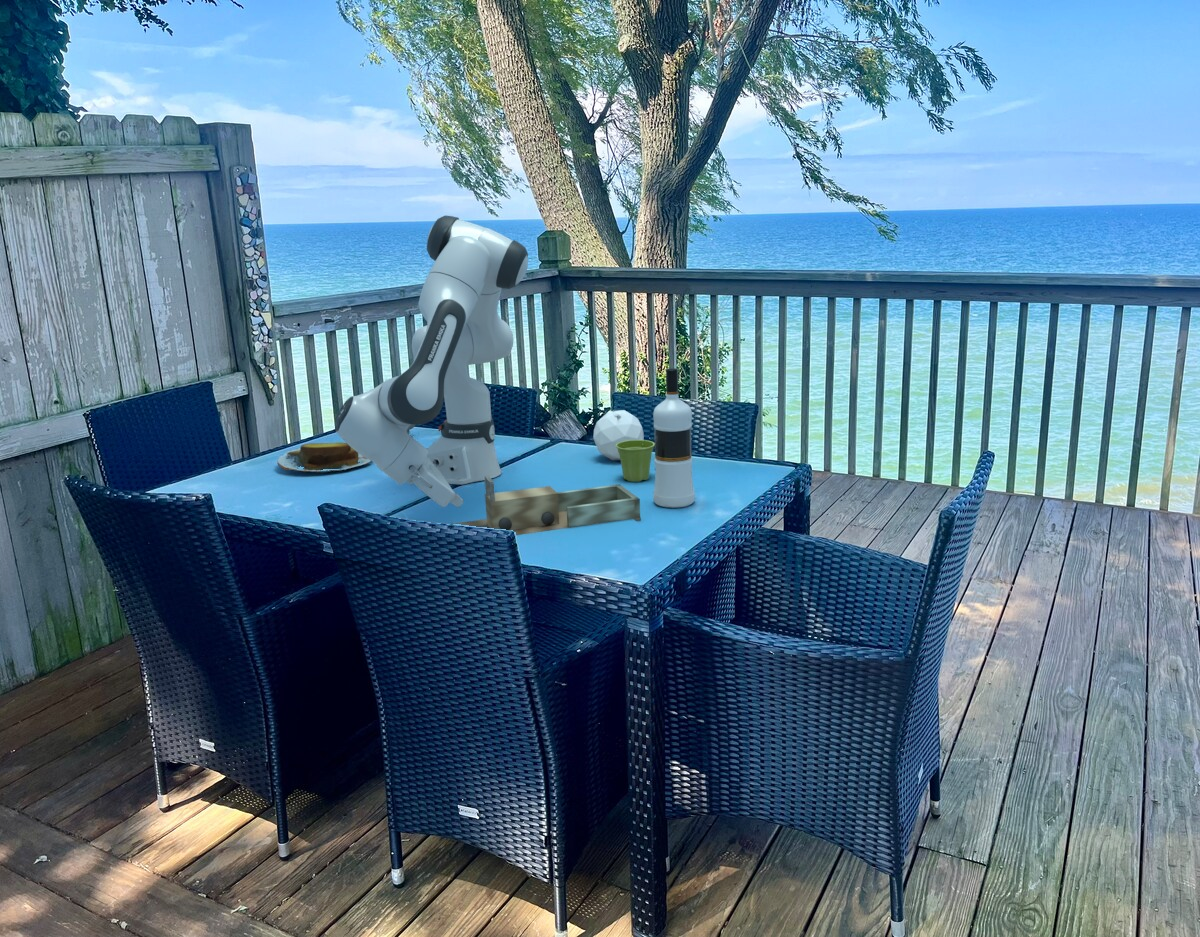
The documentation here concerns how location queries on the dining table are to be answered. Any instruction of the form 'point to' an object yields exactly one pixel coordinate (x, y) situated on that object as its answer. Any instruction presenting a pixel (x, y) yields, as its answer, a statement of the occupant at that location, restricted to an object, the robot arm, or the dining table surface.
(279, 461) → the food on plate
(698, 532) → the dining table surface
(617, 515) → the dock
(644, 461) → the plant pot
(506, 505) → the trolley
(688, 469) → the vodka
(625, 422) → the geodesic sphere
